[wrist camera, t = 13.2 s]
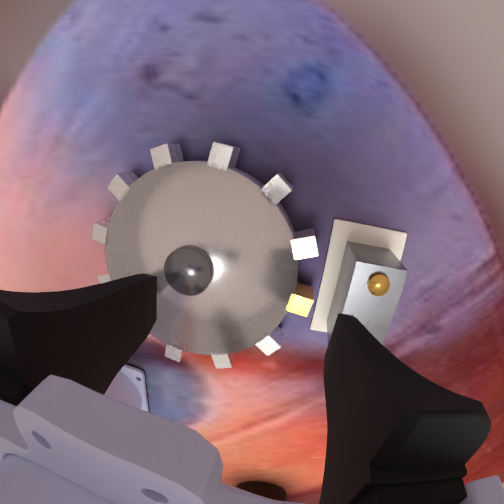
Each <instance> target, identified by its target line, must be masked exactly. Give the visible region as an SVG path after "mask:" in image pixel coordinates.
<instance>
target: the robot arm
mask: <svg viewBox="0 0 504 504" xmlns="http://www.w3.org/2000/svg"><path fill="white" fill-rule="evenodd" d="M156 320H157V276H153V275H148V274H144V273H143V274H136V275H132V276H128V277H124V278H120V279H116V280H113V281H109V282H105V283H101V284H97V285H93V286H88V287H84V288H79V289H73V290H66V291H58V292H40V293H28V292H12V291H4V290H0V504H305V503H294V502H285V501H277V500H272V499H269V498H266V497H263V496H259V495H256V494H253V493H250V492H247V491H245V490H242V489H239V488H236V487H233V486H231V485H228V484H226V483H223V482H222V480H221V477H222V471H223V463H222V460H221V457H220V454H219V451H218V450H217V448H216V447H215V446H213V445H212V444H211V443H210V442H209V441H208V440H206V439H205V438H204V437H203V436H202V435H201V434H199V433H198V432H197V431H195V430H193V429H190V428H188V427H186V426H184V425H182V424H179V423H177V422H175V421H173V420H170V419H167V418H164V417H161V416H158V415H155V414H152V413H149V408H148V400H147V392H146V384H145V375H144V372H143V371H142V370H140V369H137V368H134V367H132V366H129V365H126V362H127V361H128V360H129V359H130V358H131V356H132V355H133V354H134V353H135V351H136V350H137V349H138V348H139V346H140V345H141V344H142V343H143V342H144V340H145V339H146V338H147V336H148V334H149V333H150V331H151V329H152V328H153V326H154V324H155V322H156ZM324 386H325V398H326V410H327V424H328V433H327V449H326V460H325V470H324V477H323V485H322V491H321V498H320V503H319V504H504V489H503V486H502V484H501V481H500V478H499V476H497V475H495V476H491V477H487V478H483V479H479V480H475V481H472V482H470V483H468V484H466V485H465V486H464V483H463V479H462V477H464V476H465V475H466V474H467V470H466V467H465V463H466V462H467V461H468V460H469V459H470V458H471V457H472V456H473V454H474V453H475V452H476V451H477V450H478V449H479V448H480V446H481V445H482V444H483V442H484V441H485V439H486V438H487V436H488V434H489V431H490V429H491V420H490V418H489V416H488V414H487V412H486V410H485V408H484V406H483V404H482V402H480V401H477V400H474V399H471V398H468V397H465V396H462V395H459V394H457V393H454V392H452V391H450V390H447V389H445V388H443V387H441V386H439V385H437V384H435V383H433V382H431V381H430V380H428V379H426V378H425V377H423V376H421V375H420V374H418V373H416V372H415V371H413V370H412V369H411V368H409V367H408V366H407V365H405V364H404V363H403V362H401V361H400V360H399V359H397V358H396V357H395V356H394V355H393V354H392V353H391V352H390V351H388V350H387V349H386V348H385V347H384V346H383V345H382V344H381V343H380V342H379V341H378V340H377V339H376V338H375V337H374V336H373V335H372V334H371V333H370V332H369V331H368V330H367V329H366V327H365V326H364V325H363V324H362V323H361V322H360V321H359V320H358V319H357V318H356V317H355V316H353V315H347V314H341V313H338V316H337V319H336V322H335V325H334V329H333V332H332V335H331V338H330V341H329V345H328V348H327V351H326V354H325V361H324Z"/></svg>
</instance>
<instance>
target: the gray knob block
mask: <svg viewBox="0 0 504 504" xmlns="http://www.w3.org/2000/svg"><path fill="white" fill-rule="evenodd" d="M407 273H408V270H407V269H406V268H405V267H404V265H403V264H402V263H401V262H400V261H399V259H398V258H397V257H396V256H395V255H394V253H393V252H392V251H391V250H390V249H386V248H381V247H376V246H371V245H366V244H361V243H356V242H350V241H347V243H346V247H345V251H344V256H343V260H342V264H341V268H340V273H339V277H338V281H337V285H336V289H335V292H334V296H333V300H332V304H331V308H330V311H329V315H328V318H327V322H326V323H327V334H328V345H329V341H330V338H331V335H332V332H333V329H334V325H335V322H336V319H337V316H338V313H341V314H347V315H353V316H355V317H356V318H357V319H358V320H359V321H360V322H361V323H362V324H363V325H364V326H365V327H366V329H367V330H368V331H369V332H370V333H371V334H372V335H373V336H374V337H375V338H376V339H377V340H378V341H379V342H380V343H381V344H382V345H383V342H384V340H385V337H386V335H387V332H388V329H389V327H390V324H391V321H392V318H393V316H394V313H395V310H396V307H397V304H398V301H399V298H400V295H401V292H402V289H403V286H404V283H405V279H406V276H407Z"/></svg>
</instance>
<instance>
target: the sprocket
mask: <svg viewBox="0 0 504 504" xmlns="http://www.w3.org/2000/svg"><path fill="white" fill-rule="evenodd" d="M240 149H241V148H238V147H235V146H231V145H227V144H224V143H218V142H213V144H212V148H211V151H210V155H209V159H208V161H202V160H199V161H185V162H184V158H183V154H182V150H181V146H180V144H169V143H167V144H164V145H161V146H158V147H155V148H153V149H150V152H151V156H152V160H153V165H154V169H153V170H151V171H149V172H147V173H146V174H144V175H142V176H141V177H139V178H138V177H137V176H136V175H135V173H134V172H133V171H132V172H125V173H119V174H117V175H116V176H115V177H114V179H113V180H112V181H111V183H110V184H109V185H108V189H109V190H110V191H111V192H112V193H113V194H114V196H115V197H116V198H117V199H118V202H117V203H116V205H115V207H114V210H113V212H112V214H111V217H108V218H105V219H103V220H100V221H97V222H95V223H94V224H93V233H92V239H93V240H96V241H98V242H101V243H103V244H105V253H106V263H107V268H108V270H106V271H104V272H103V273H101V274H100V275H98V276H97V278H98V281H99V284H101V283H105V282H109V281H113V280H116V279H120V278H124V277H128V276H132V275H136V274H143V273H144V274H148V275H153V276H157V320H156V322H155V324H154V326H153V328H152V329H151V331H150V334H151V335H153V336H154V337H156V338H157V339H159V340H160V341H162V342H164V343H166V344H167V346H166V352H165V356H166V357H168V358H170V359H173V360H175V361H178V362H180V360H181V359H182V357H183V355H184V354H185V352H186V351H187V352H191V353H196V354H204V355H211V356H212V359H213V361H214V364H215V367H216V368H232V366H233V363H234V360H235V357H236V355H237V352H238V351H241V350H244V349H246V348H248V347H251V346H253V345H256V346H257V347H258V348H259V349H261V350H262V351H263V352H264V353H265V354H266V355H267V356H268V355H270V354H271V353H273V352H275V351H276V350H278V349H279V348H281V344H282V337H283V331H282V330H281V329H280V328H279V327H278V325H279V324H280V322H281V321H282V319H283V318H284V317H285V315H286V313H287V311H289V312H293V313H296V314H299V315H302V316H305V317H307V315H308V313H309V310H310V308H311V306H312V303H313V301H314V297H313V287H311V286H308V285H305V284H302V283H299V282H297V278H298V260H299V259H305V258H310V257H316V256H318V248H317V242H316V237H315V231H314V228H310V229H305V230H300V231H294V228H293V226H292V224H291V221H290V219H289V217H288V215H287V213H286V211H285V210H284V208H283V206H282V205H281V203H280V201H281V200H282V199H283V198H284V197H285V196H286V195H287V194H289V193H290V192H291V191H292V189H293V186H292V185H291V184H290V183H289V182H288V181H287V180H286V178H285V177H284V176H283V175H282V174H281V173H278V174H277V175H276V176H274V177H273V178H272V179H271V180H270V181H269V182H268V183H267V184H266V185H264V184H263V183H261V182H260V181H258V180H257V179H256V178H254V177H253V176H252V175H250V174H248V173H246V172H244V171H242V170H240V169H239V168H236V167H235V166H236V162H237V159H238V155H239V152H240Z"/></svg>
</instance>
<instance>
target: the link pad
mask: <svg viewBox="0 0 504 504" xmlns="http://www.w3.org/2000/svg"><path fill="white" fill-rule="evenodd" d="M406 237H407V233H405V232H400V231H395V230H390V229H385V228H381V227H376V226H371V225H365V224H360V223H355V222H350V221H345V220H339V219H334V222H333V227H332V232H331V237H330V242H329V247H328V252H327V257H326V262H325V266H324V271H323V276H322V280H321V284H320V289H319V293H318V297H317V302H316V306H315V310H314V314H313V318H312V322H311V326H310V330H316V331H323V332H327V323H326V322H327V318H328V315H329V311H330V308H331V304H332V300H333V296H334V292H335V289H336V285H337V281H338V277H339V273H340V268H341V264H342V260H343V256H344V251H345V247H346V243H347V241H350V242H356V243H361V244H366V245H371V246H376V247H381V248H386V249H390V250H391V251H392V252H393V253H394V255H395V256H396V257H397V258H398V259H399V261H400V260H401V257H402V253H403V249H404V245H405V241H406Z"/></svg>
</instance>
